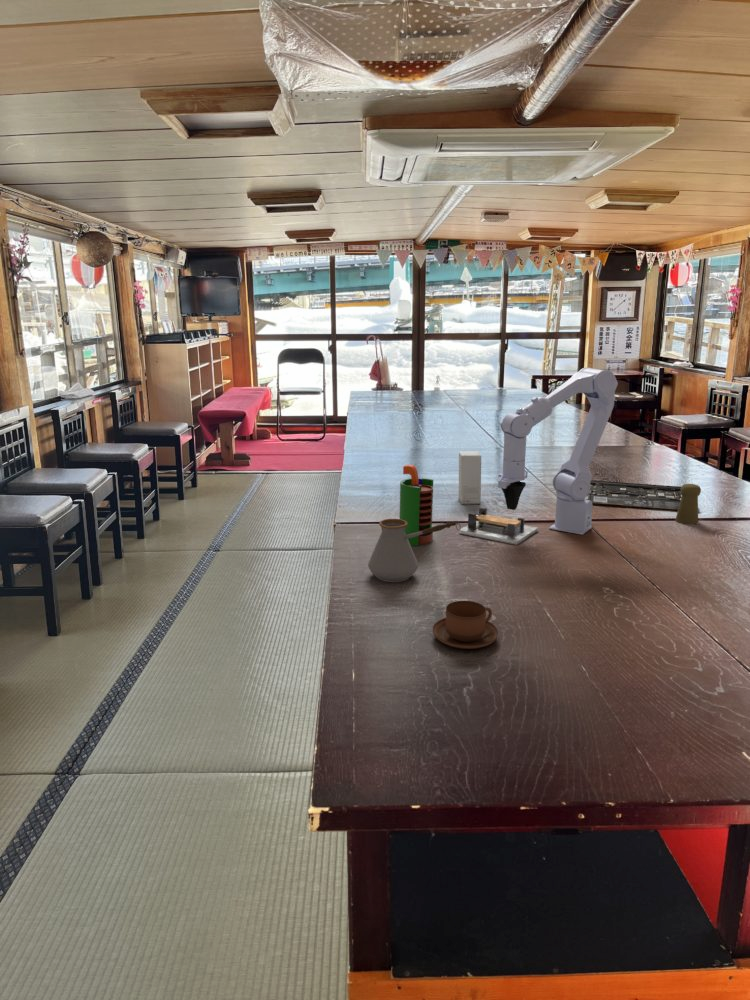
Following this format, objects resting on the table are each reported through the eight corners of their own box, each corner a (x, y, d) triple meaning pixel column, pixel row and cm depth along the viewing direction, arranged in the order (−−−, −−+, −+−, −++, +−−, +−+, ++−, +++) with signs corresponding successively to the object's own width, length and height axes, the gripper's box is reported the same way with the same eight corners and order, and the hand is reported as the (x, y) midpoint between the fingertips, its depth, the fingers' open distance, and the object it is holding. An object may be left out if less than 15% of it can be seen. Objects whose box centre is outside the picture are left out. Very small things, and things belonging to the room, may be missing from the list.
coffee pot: (359, 581, 154) (359, 517, 150) (380, 564, 164) (380, 504, 160) (450, 596, 145) (452, 529, 141) (465, 577, 155) (468, 514, 151)
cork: (694, 518, 198) (698, 482, 195) (701, 525, 192) (706, 487, 189) (672, 518, 199) (676, 481, 196) (679, 524, 193) (683, 486, 190)
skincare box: (480, 504, 214) (482, 455, 209) (459, 504, 214) (461, 455, 210) (477, 497, 222) (479, 450, 218) (457, 497, 222) (458, 450, 218)
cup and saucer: (455, 619, 135) (456, 590, 133) (509, 637, 128) (511, 606, 126) (419, 641, 126) (420, 610, 124) (475, 661, 119) (477, 629, 117)
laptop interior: (577, 505, 214) (577, 500, 213) (581, 483, 239) (582, 478, 239) (699, 517, 203) (700, 511, 202) (690, 492, 228) (691, 487, 228)
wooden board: (521, 524, 185) (521, 520, 185) (514, 528, 181) (514, 524, 181) (479, 516, 192) (479, 512, 192) (471, 520, 188) (471, 516, 188)
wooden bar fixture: (537, 530, 188) (538, 513, 186) (517, 544, 177) (518, 526, 175) (481, 520, 197) (482, 504, 196) (458, 533, 186) (459, 515, 185)
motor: (430, 546, 176) (431, 471, 170) (396, 544, 177) (396, 469, 172) (434, 534, 185) (436, 462, 180) (402, 532, 187) (402, 461, 182)
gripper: (511, 452, 187) (509, 500, 191) (488, 462, 176) (486, 512, 180) (535, 455, 183) (533, 504, 187) (513, 465, 172) (511, 517, 176)
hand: (511, 508), depth 183 cm, fingers closed
